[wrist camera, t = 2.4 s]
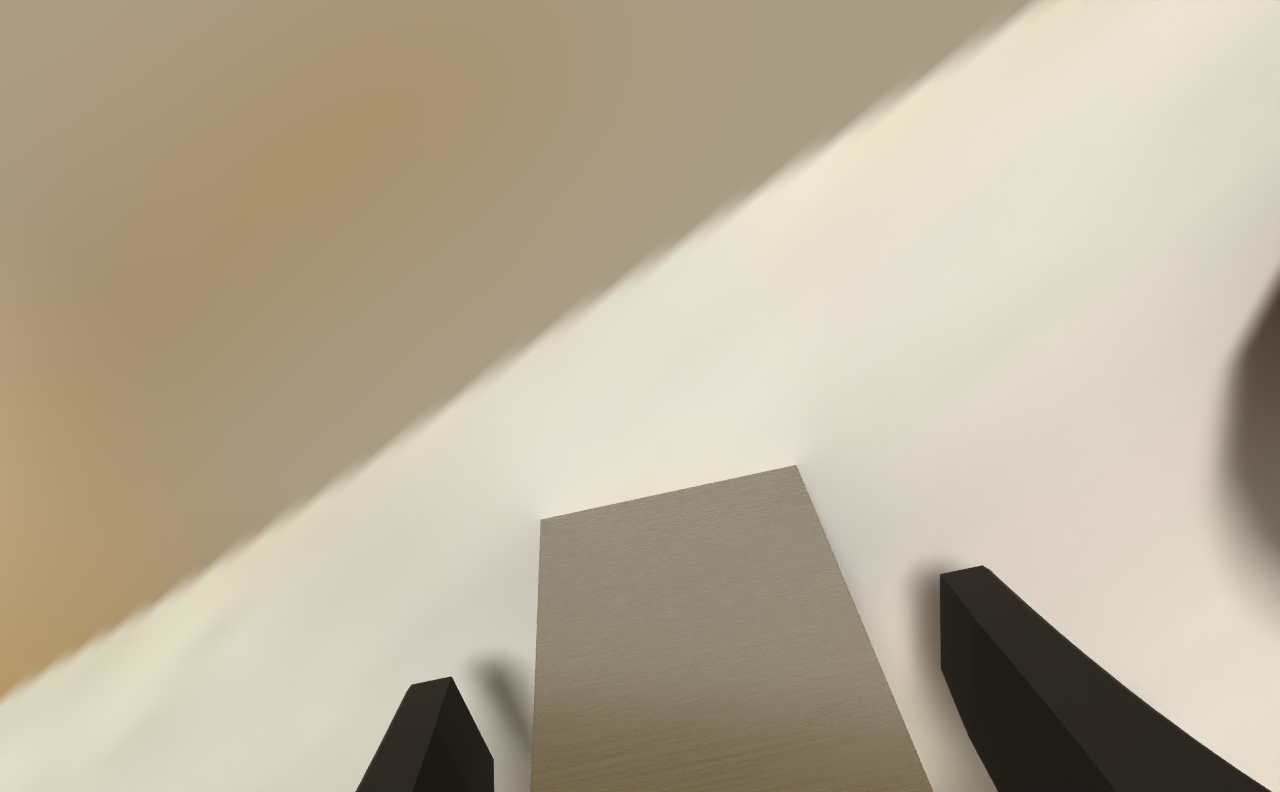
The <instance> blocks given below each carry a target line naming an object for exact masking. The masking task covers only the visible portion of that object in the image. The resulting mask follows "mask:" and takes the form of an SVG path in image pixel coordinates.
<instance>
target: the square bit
mask: <svg viewBox="0 0 1280 792" xmlns="http://www.w3.org/2000/svg"><path fill="white" fill-rule="evenodd" d="M531 792H933V790H932V788H931V785H930V783H929V780H928V778H927V776H926V773H925V771H924V769H923V766H922V764H921V761H920V759H919V757H918V754H917V752H916V750H915V747H914V745H913V742H912V740H911V738H910V735H909V733H908V730H907V728H906V726H905V723H904V721H903V719H902V716H901V714H900V711H899V709H898V707H897V704H896V702H895V700H894V697H893V695H892V692H891V690H890V688H889V685H888V683H887V681H886V678H885V676H884V673H883V671H882V669H881V666H880V664H879V662H878V659H877V657H876V654H875V652H874V650H873V647H872V645H871V643H870V640H869V638H868V635H867V633H866V631H865V628H864V626H863V623H862V621H861V619H860V616H859V614H858V612H857V609H856V607H855V604H854V602H853V600H852V597H851V595H850V593H849V590H848V588H847V585H846V583H845V581H844V578H843V576H842V574H841V571H840V569H839V566H838V564H837V562H836V559H835V557H834V555H833V552H832V550H831V547H830V545H829V543H828V540H827V538H826V535H825V533H824V531H823V528H822V526H821V524H820V521H819V519H818V516H817V514H816V512H815V509H814V507H813V505H812V502H811V500H810V497H809V495H808V493H807V490H806V488H805V486H804V483H803V481H802V478H801V476H800V474H799V471H798V469H797V467H796V465H794V466H789V467H785V468H780V469H775V470H771V471H766V472H761V473H757V474H752V475H747V476H743V477H738V478H733V479H729V480H724V481H719V482H715V483H710V484H705V485H701V486H696V487H691V488H687V489H682V490H677V491H673V492H668V493H663V494H659V495H654V496H649V497H645V498H640V499H635V500H631V501H626V502H621V503H617V504H612V505H607V506H603V507H598V508H593V509H589V510H584V511H579V512H575V513H570V514H565V515H561V516H556V517H551V518H547V519H542V520H541V529H540V557H539V584H538V612H537V639H536V667H535V695H534V722H533V750H532V777H531Z"/></svg>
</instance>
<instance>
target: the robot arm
mask: <svg viewBox="0 0 1280 792" xmlns="http://www.w3.org/2000/svg"><path fill="white" fill-rule="evenodd" d="M940 635H941V670H942V672H943V675H944V677H945V680H946V682H947V685H948V687H949V690H950V692H951V695H952V697H953V700H954V702H955V705H956V707H957V710H958V712H959V714H960V717H961V719H962V721H963V724H964V726H965V729H966V731H967V733H968V736H969V738H970V740H971V742H972V743H973V745H974V747H975V749H976V751H977V753H978V755H979V757H980V759H981V760H982V762H983V764H984V766H985V768H986V770H987V772H988V773H989V775H990V777H991V779H992V781H993V783H994V784H995V786H996V788H997V790H998V792H1271V791H1270V790H1268V789H1267V788H1265V787H1264V786H1262V785H1261V784H1259V783H1258V782H1256V781H1255V780H1253V779H1252V778H1250V777H1249V776H1247V775H1246V774H1244V773H1243V772H1241V771H1240V770H1238V769H1237V768H1235V767H1234V766H1232V765H1231V764H1229V763H1228V762H1227V761H1225V760H1224V759H1222V758H1221V757H1219V756H1218V755H1216V754H1215V753H1214V752H1212V751H1211V750H1209V749H1208V748H1207V747H1205V746H1204V745H1202V744H1201V743H1200V742H1198V741H1197V740H1195V739H1194V738H1193V737H1191V736H1190V735H1188V734H1187V733H1186V732H1184V731H1183V730H1182V729H1180V728H1179V727H1178V726H1176V725H1175V724H1174V723H1172V722H1171V721H1170V720H1168V719H1167V718H1165V717H1164V716H1163V715H1161V714H1160V713H1159V712H1157V711H1156V710H1155V709H1153V708H1152V707H1151V706H1149V705H1148V704H1147V703H1146V702H1144V701H1143V700H1142V699H1140V698H1139V697H1138V696H1137V695H1135V694H1134V693H1133V692H1131V691H1130V690H1129V689H1128V688H1126V687H1125V686H1124V685H1123V684H1121V683H1120V682H1119V681H1118V680H1116V679H1115V678H1114V677H1113V676H1111V675H1110V674H1109V673H1108V672H1107V671H1105V670H1104V669H1103V668H1102V667H1100V666H1099V665H1098V664H1097V663H1095V662H1094V661H1093V660H1092V659H1090V658H1089V657H1088V656H1087V655H1085V654H1084V653H1083V652H1082V651H1081V650H1080V649H1078V648H1077V647H1076V646H1075V645H1074V644H1072V643H1071V642H1070V641H1069V640H1068V639H1066V638H1065V637H1064V636H1063V635H1062V634H1061V633H1060V632H1058V631H1057V630H1056V629H1055V628H1054V627H1053V626H1051V625H1050V624H1049V623H1048V622H1047V621H1046V620H1045V619H1043V618H1042V617H1041V616H1040V615H1039V614H1038V613H1037V612H1035V611H1034V610H1033V609H1032V608H1031V607H1030V606H1029V605H1028V604H1026V603H1025V602H1024V601H1023V600H1022V599H1021V598H1020V597H1019V596H1018V595H1017V594H1015V593H1014V592H1013V591H1012V590H1011V589H1010V588H1009V587H1008V586H1007V585H1006V584H1004V583H1003V582H1002V581H1001V580H1000V579H999V578H998V577H997V576H996V575H995V574H994V573H993V572H992V571H990V570H989V569H987V568H986V567H984V566H983V565H982V566H977V567H973V568H968V569H963V570H958V571H953V572H949V573H944V574H940ZM356 792H494V759H493V757H492V755H491V753H490V752H489V750H488V748H487V746H486V744H485V742H484V740H483V738H482V736H481V734H480V732H479V730H478V728H477V726H476V724H475V722H474V720H473V718H472V716H471V714H470V712H469V710H468V708H467V706H466V704H465V702H464V700H463V698H462V696H461V694H460V692H459V690H458V688H457V686H456V684H455V682H454V680H453V678H452V676H451V677H446V678H442V679H437V680H432V681H427V682H422V683H418V684H413V685H411V686H410V688H409V689H408V690H407V692H406V694H405V696H404V698H403V700H402V702H401V704H400V706H399V708H398V710H397V712H396V714H395V716H394V718H393V720H392V722H391V724H390V726H389V728H388V730H387V732H386V734H385V736H384V738H383V740H382V742H381V744H380V746H379V748H378V750H377V752H376V754H375V755H374V757H373V759H372V761H371V763H370V765H369V767H368V769H367V771H366V773H365V775H364V777H363V779H362V781H361V782H360V784H359V786H358V788H357V790H356Z"/></svg>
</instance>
